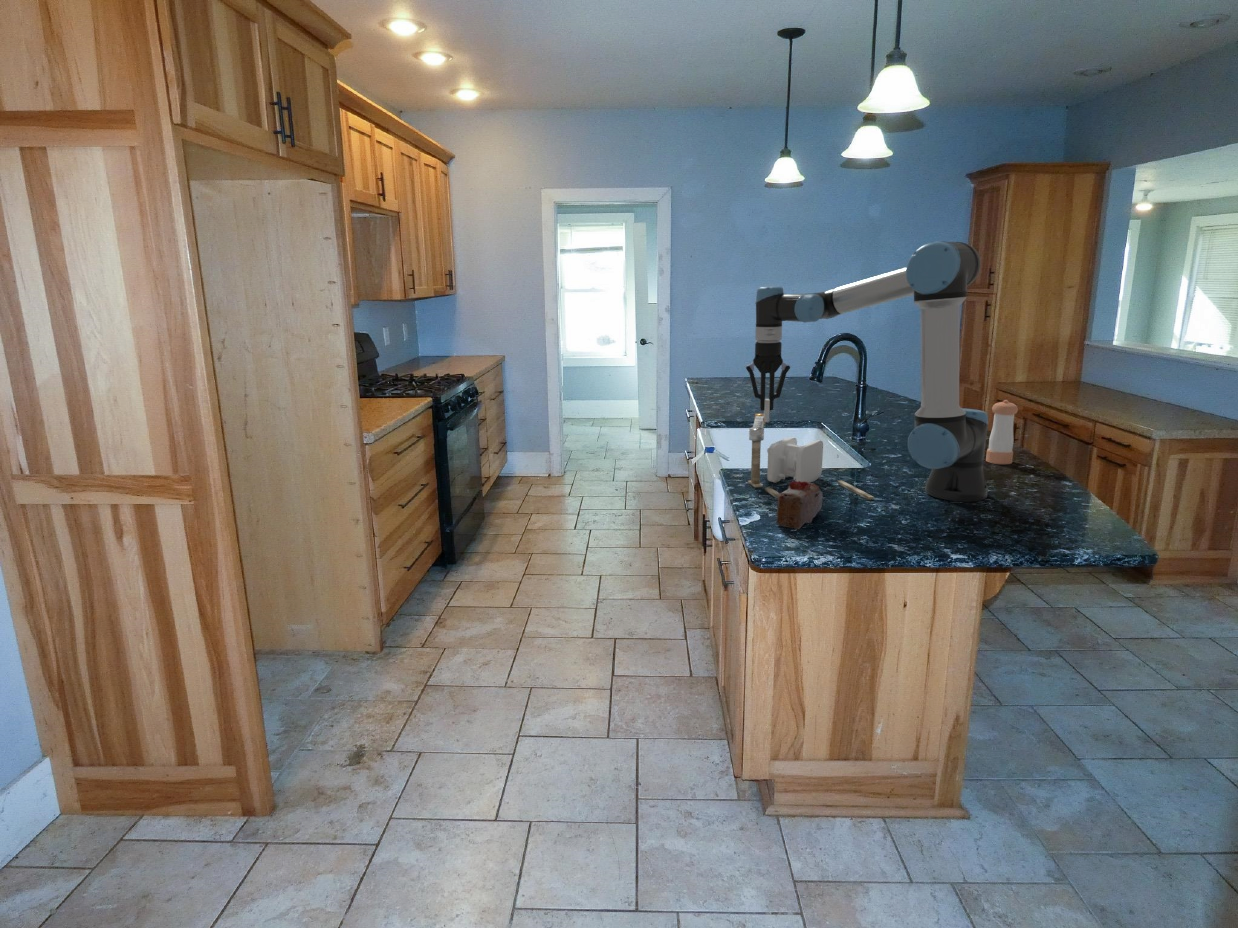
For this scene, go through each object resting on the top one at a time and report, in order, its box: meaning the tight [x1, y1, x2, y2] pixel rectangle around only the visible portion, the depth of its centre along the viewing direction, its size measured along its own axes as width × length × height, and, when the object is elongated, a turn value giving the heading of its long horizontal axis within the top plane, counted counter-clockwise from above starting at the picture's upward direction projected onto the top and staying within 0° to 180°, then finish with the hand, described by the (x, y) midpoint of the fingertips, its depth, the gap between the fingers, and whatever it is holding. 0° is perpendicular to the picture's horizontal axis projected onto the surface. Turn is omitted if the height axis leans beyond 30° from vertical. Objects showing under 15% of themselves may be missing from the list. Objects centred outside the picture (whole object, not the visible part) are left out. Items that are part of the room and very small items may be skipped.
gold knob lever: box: [748, 413, 766, 442], centre depth 213 cm, size 4×24×3 cm, turn 167°
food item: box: [776, 480, 823, 530], centre depth 177 cm, size 14×8×10 cm, turn 148°
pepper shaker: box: [985, 399, 1019, 465], centre depth 224 cm, size 7×7×19 cm
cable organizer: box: [766, 436, 824, 484], centre depth 209 cm, size 15×11×12 cm
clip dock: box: [747, 440, 875, 501], centre depth 200 cm, size 24×25×13 cm
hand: (766, 421), depth 219 cm, fingers closed
